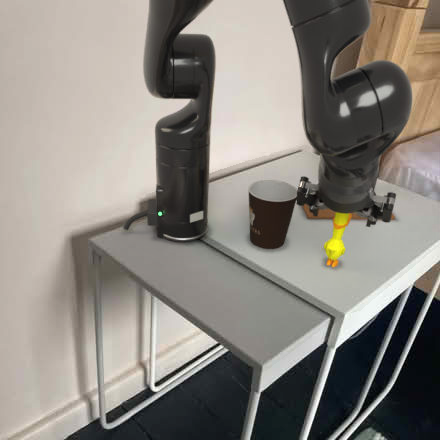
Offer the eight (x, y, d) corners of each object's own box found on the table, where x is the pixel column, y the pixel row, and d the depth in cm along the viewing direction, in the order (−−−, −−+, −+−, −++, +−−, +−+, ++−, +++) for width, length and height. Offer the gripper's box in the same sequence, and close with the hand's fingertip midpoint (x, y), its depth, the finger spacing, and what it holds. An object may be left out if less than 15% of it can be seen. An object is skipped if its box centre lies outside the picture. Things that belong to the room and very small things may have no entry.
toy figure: (328, 251, 89) (341, 190, 82) (348, 257, 88) (362, 195, 81) (316, 269, 85) (328, 205, 77) (336, 275, 83) (351, 211, 76)
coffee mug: (288, 255, 88) (296, 204, 82) (240, 248, 89) (244, 197, 83) (293, 224, 97) (301, 176, 91) (250, 218, 98) (254, 171, 92)
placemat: (307, 218, 99) (308, 216, 99) (298, 196, 107) (298, 194, 107) (394, 219, 101) (395, 217, 100) (378, 197, 109) (379, 195, 108)
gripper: (287, 192, 66) (294, 228, 82) (397, 213, 63) (382, 247, 78) (301, 140, 67) (305, 186, 83) (409, 158, 64) (392, 202, 79)
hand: (342, 215), depth 81 cm, fingers open, 8 cm apart
